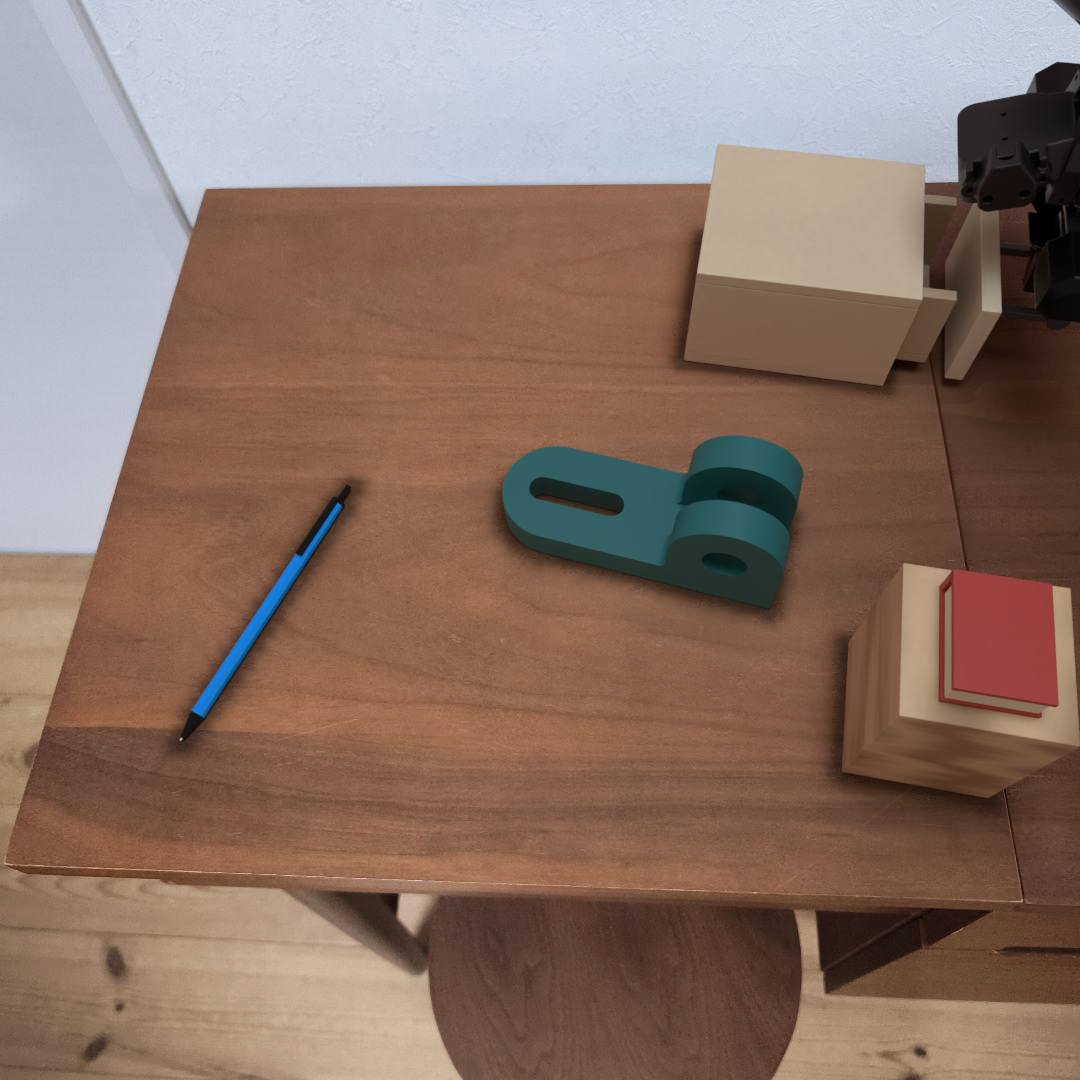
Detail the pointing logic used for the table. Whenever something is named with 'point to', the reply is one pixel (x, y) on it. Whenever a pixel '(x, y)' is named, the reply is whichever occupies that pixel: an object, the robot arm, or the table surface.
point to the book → (997, 643)
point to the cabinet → (808, 264)
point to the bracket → (665, 514)
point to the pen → (264, 613)
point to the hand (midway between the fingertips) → (1030, 288)
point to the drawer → (963, 288)
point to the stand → (937, 727)
